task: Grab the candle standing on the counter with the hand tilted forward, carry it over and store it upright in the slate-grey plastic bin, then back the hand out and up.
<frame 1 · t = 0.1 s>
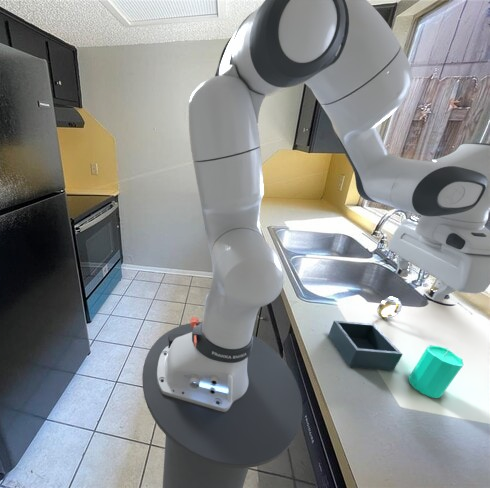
hand: (416, 286, 58), 25 cm above the worktop, tool pointing down, fingers open, 8 cm apart
ring: (384, 318, 86), on the worktop
bin: (358, 351, 72), on the worktop
sprinkles bottle: (435, 294, 100), on the worktop
candle: (424, 387, 63), on the worktop
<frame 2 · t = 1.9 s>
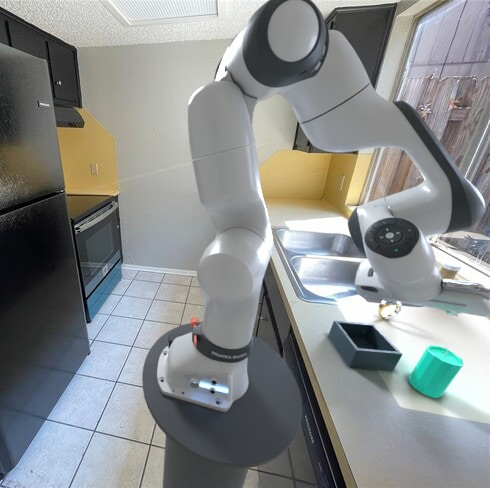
hand: (421, 306, 58), 21 cm above the worktop, tool tilted 50°, fingers open, 8 cm apart
nothing on the worktop moved.
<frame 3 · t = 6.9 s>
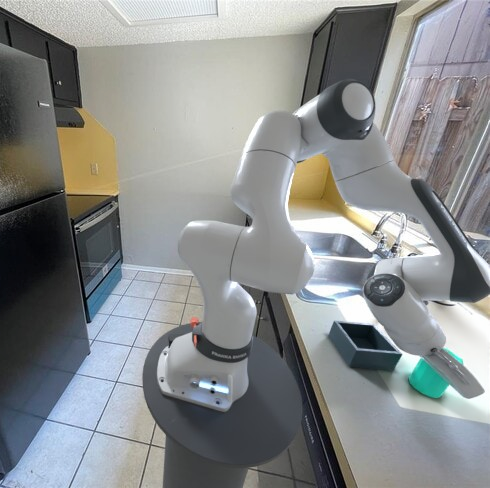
hand: (439, 367, 60), 6 cm above the worktop, tool tilted 45°, fingers closed on candle, 5 cm apart
candle: (424, 387, 63), on the worktop, touching gripper
everything else where it was.
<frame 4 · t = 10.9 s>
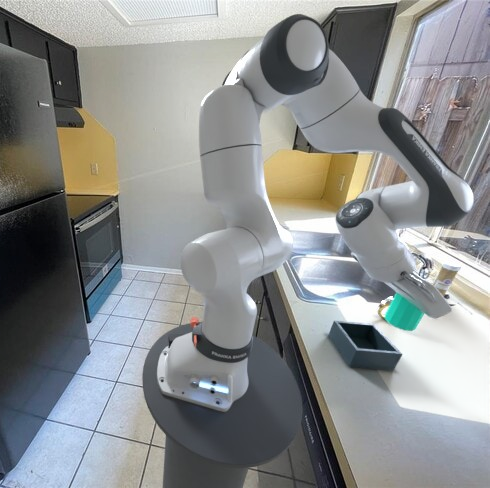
hand: (413, 301, 60), 20 cm above the worktop, tool tilted 45°, fingers closed on candle, 5 cm apart
candle: (399, 322, 63), point 14 cm above the worktop, touching gripper
everything else where it was.
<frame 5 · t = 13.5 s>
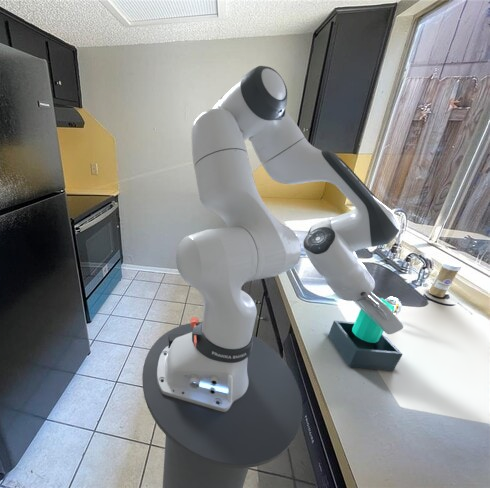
hand: (375, 316, 67), 12 cm above the worktop, tool tilted 45°, fingers closed on candle, 5 cm apart
candle: (364, 335, 70), point 6 cm above the worktop, touching gripper
everything else where it was.
when the fingers open (7 cm above the worktop, at t = 15.4 s): candle stays where it is, resting on bin.
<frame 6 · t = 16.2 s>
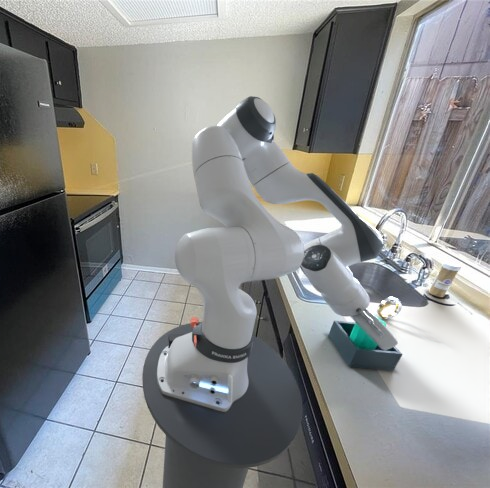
hand: (371, 330, 69), 8 cm above the worktop, tool tilted 45°, fingers open, 8 cm apart
candle: (358, 350, 72), point 1 cm above the worktop, touching bin
everything else where it was.
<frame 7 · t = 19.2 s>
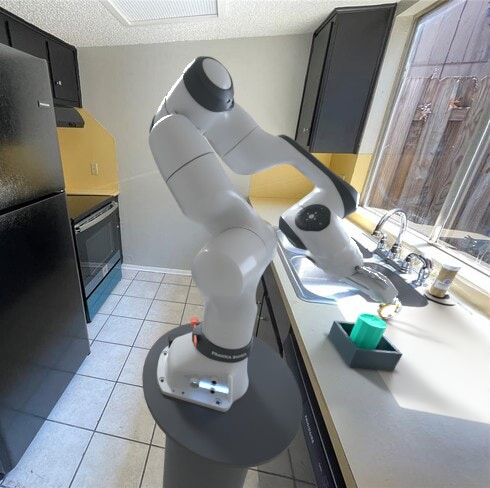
hand: (358, 288, 68), 19 cm above the worktop, tool tilted 45°, fingers open, 8 cm apart
nothing on the worktop moved.
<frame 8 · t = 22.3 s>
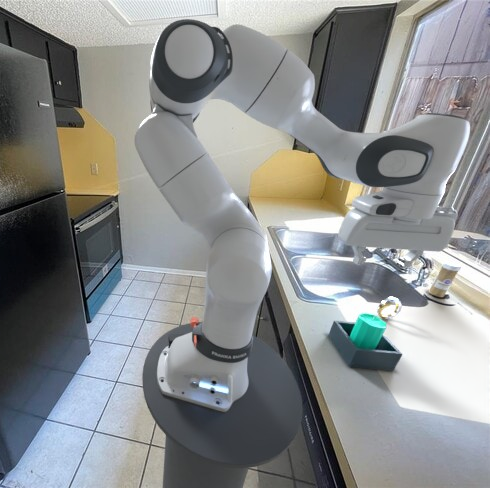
hand: (380, 264, 57), 29 cm above the worktop, tool pointing down, fingers open, 8 cm apart
nothing on the worktop moved.
at the end: candle inside the target area in the bin (0.1 cm from its centre), point 0.6 cm above the bin's base; candle tilted 0°; the gripper is holding nothing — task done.
